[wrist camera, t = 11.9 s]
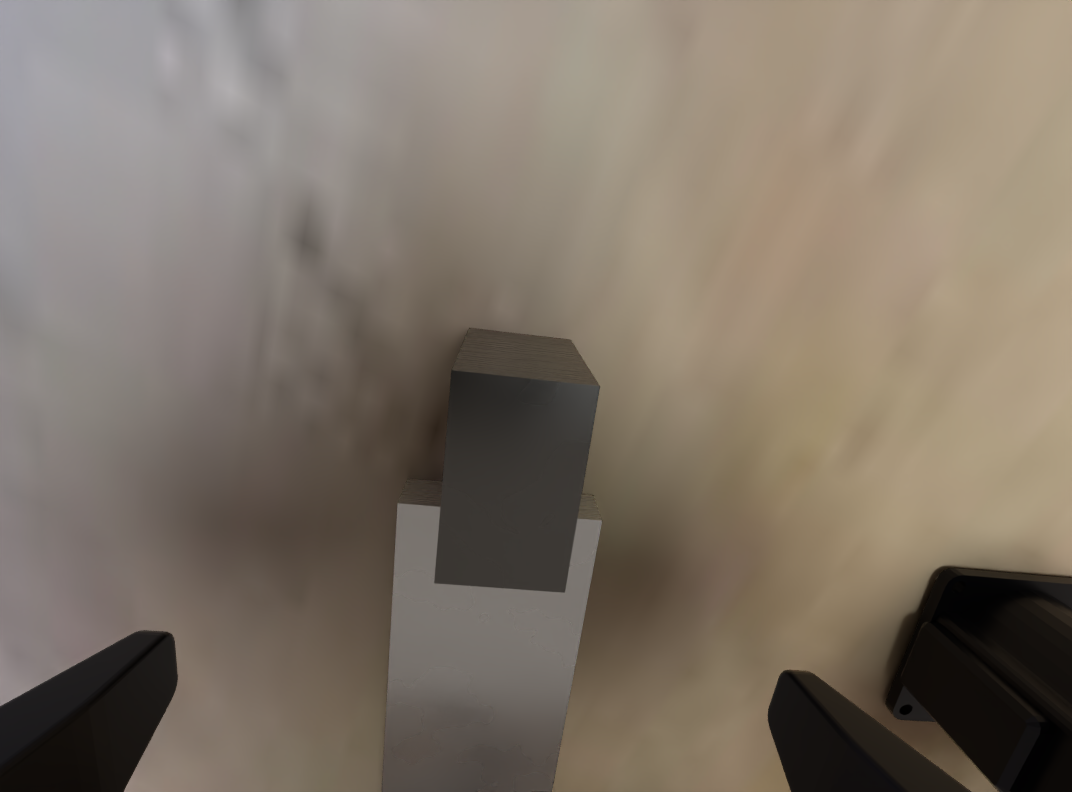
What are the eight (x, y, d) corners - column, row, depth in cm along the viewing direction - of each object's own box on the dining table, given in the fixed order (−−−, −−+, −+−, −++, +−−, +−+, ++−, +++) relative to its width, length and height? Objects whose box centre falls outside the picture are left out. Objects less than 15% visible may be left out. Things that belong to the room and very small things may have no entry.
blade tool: (619, 345, 15) (671, 394, 11) (526, 870, 22) (532, 1047, 17) (417, 321, 15) (374, 361, 10) (384, 867, 21) (348, 1049, 17)
